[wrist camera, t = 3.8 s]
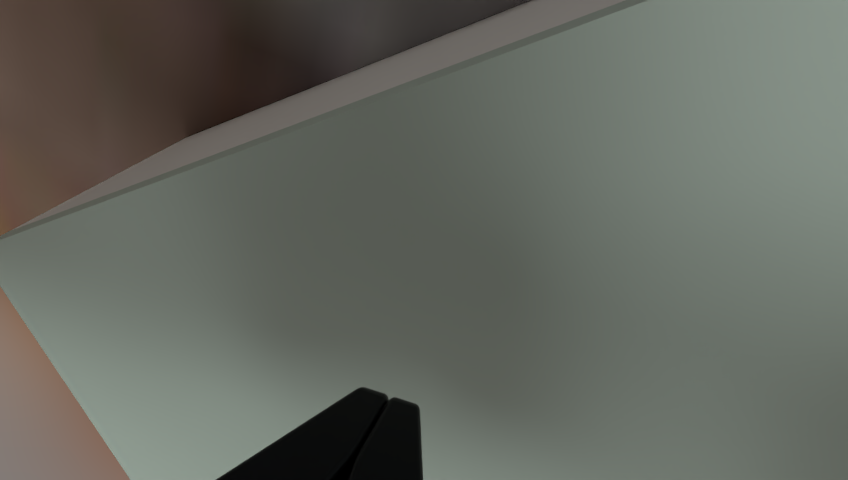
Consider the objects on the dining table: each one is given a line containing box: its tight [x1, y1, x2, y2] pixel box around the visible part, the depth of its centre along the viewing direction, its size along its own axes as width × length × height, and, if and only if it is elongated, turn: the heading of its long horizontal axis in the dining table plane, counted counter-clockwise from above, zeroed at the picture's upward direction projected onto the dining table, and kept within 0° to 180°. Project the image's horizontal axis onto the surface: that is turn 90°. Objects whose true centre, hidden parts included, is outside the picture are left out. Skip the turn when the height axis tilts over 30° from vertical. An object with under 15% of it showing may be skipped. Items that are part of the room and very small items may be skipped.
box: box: [13, 0, 625, 230], centre depth 15 cm, size 16×16×6 cm
